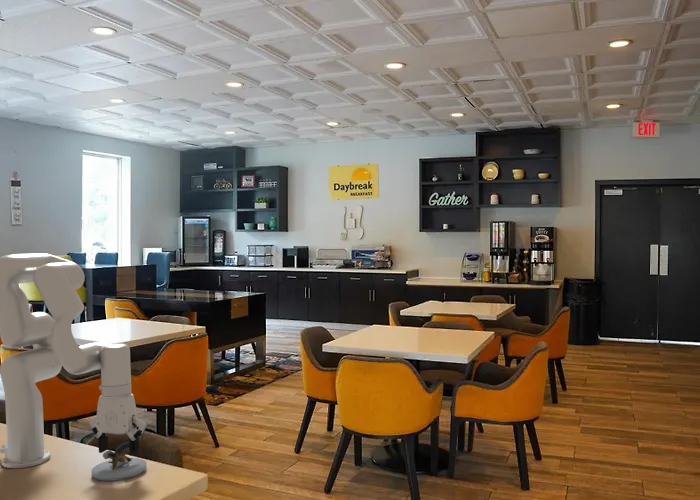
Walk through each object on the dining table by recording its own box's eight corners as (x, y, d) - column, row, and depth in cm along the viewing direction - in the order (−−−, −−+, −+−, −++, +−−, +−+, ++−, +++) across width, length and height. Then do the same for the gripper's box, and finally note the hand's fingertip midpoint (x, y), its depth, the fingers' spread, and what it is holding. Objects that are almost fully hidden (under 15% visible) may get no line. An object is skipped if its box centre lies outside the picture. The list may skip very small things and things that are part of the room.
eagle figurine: (132, 466, 166) (145, 448, 175) (116, 445, 165) (130, 429, 174) (111, 480, 167) (125, 462, 176) (94, 459, 166) (109, 442, 175)
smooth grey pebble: (80, 480, 164) (79, 474, 164) (114, 461, 178) (113, 456, 178) (125, 484, 160) (125, 478, 160) (156, 465, 174) (156, 459, 174)
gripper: (80, 391, 167) (82, 455, 168) (135, 394, 162) (137, 459, 163) (98, 385, 174) (101, 445, 175) (152, 387, 170) (154, 450, 170)
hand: (118, 452), depth 169 cm, fingers open, 9 cm apart
